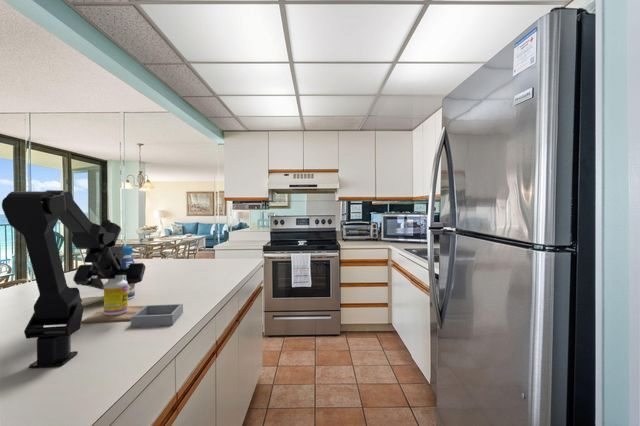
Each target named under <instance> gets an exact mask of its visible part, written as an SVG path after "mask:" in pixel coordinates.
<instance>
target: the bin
mask: <svg viewBox="0 0 640 426" xmlns="http://www.w3.org/2000/svg"><path fill="white" fill-rule="evenodd" d="M143 306H144V307H143V308H142V309H140V310H139V311H138V312H137V313H135V314H134V315H133V316H131V321H130V328H140V327H157V326H159V327H160V326H174V324H175V323H176V321H177V320H178V319H179V318H180V317H181V316H182V315H183V314H184V304H183V303H170V304H148V305H147V304H146V305H143Z"/></svg>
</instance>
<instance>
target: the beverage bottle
mask: <svg viewBox="0 0 640 426" xmlns="http://www.w3.org/2000/svg"><path fill="white" fill-rule="evenodd" d="M121 246H122V247H123V248H124V253H125V256H124V257H123V258H122V262H123V263H122V266H120V268H124V267H129V266H130V264H131V263H136V262H135V260H134V258H133V257H132V255H133V246H132V245H131V246H130V245H129V246H128V245H121ZM124 280H125V281H127V280H126V275H124ZM127 283H128V282H127ZM135 291H136V290H135V287H134V288H131V287H130V286H129V285H128V300H131V299H133V298H134V297H135V296H136V292H135Z"/></svg>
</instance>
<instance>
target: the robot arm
mask: <svg viewBox="0 0 640 426" xmlns="http://www.w3.org/2000/svg"><path fill="white" fill-rule="evenodd" d="M1 210H2V211H3V213H4V215H5V218H6V221H7V222H8V225H10V227H12V228H13V229H15V231H17V232H18V233H19V234H21V235H22V236H23V239H24V243H25V247H26V250H27V252H28V257H29V261H30V264H31V267H32V271H33V275H34V280H35V283H36V286H37V288H38V292H39V293H38V294H39V295H38V297H37V299H36V301H35V303H34V304H33V314H32V315H31V317H30V319H29V321H28V323H27V324H26V327H25V328H24V331H23V332H24V335H25V339H26V340H27V339H35V338H36V360H35V361H33V362H32V363H30V364H29V365H28V368H30V369H33V368H45V367H46V368H49V367H61V366H63V365H64V364H66V363H68V362H69V360H71V359H72V358H74V357H75V356H77V355H78V353H79V351H71V350H72V347H71V346H72V345H71V339H72V338H71V336H72V335H73V334H75V333H77V332H78V331H79V330H81V325H82V323H81V321H83V320H82V319H83V315H84V306H83V303H82V302H83V300H82V298H81V293H80V289H79V288H78V287H69V286H68V284H67V279H66V276H65V272H64V271H65V270H64V267H63V264H62V259H61V254H60V251H59V247H58V243H57V239H56V235H55V230H54V229H55V227H56V225H57V223H58V221H60V222H61V223H62V224H63V225H64V227H66V229H67V230H68V231H69V232H70V233H71V237H70V241H71V243H72V244H73V246H74V247H75V248H76V249H77V250H85V257H84V260H83V263H85V264H81V265H78V267H77V269H76V271H75V273H74V275H73V278H72V279H73V280H72V281H73V282H74V284H75V285H77V286H79V285H80V286H86V287H90V288H94V289H99V290H103V291H104V284H105V283H104V282H103V280H108V279H115V278H116V276H117V275H126V280H127V282H128V285H129V286H130V287H131V288H134V289H135V286H136V284H138V283H141V282H142V281H143V279H144V278H143V277H144V276H145V273H146V268H147V267H146V265H145V263H144V262H135V263H131V264H130V266H129V267H124V268H120V266H122V263H123V262H122V258H123V257H124V256H125V253H124V248H123V247H122V246H123V245H121V246H120V245H119V246H118V245H117V246H116V243H117V241H118V238H119V236H120V234H121V231H122V228H121V226H120V225H118V224H117V223H114V222H112V221H111V220H110V219H102V221H101V223H100V224H98V223H94V222H92V221H91V220H90V219H89V217H88V216H87V215H86V214H85V213H84V212H83V210H82V208H81V207H80V206H79V205H78V204H77V202H76V201H75V200H74V196H73V194H72V192H71V191H67V190H62V189H61V190H58V189H57V190H56V189H55V190H53V189H52V190H51V189H47V190H45V191H44V190H43V191H36V190H35V191H34V190H33V191H31V190H30V191H28V190H27V191H26V190H25V191H23V190H21V191H20V190H19V191H17V190H16V191H10V192H9V193H8V194H7V195H6V196H5V197H3V199H2V202H1ZM87 263H88V264H87ZM90 263H91V264H90ZM61 325H62V326H61ZM45 326H46V327H45Z"/></svg>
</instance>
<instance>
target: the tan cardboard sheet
mask: <svg viewBox="0 0 640 426" xmlns="http://www.w3.org/2000/svg"><path fill="white" fill-rule="evenodd" d="M144 306H145V305H134V306H133V305H132V306H131V305H130V306H129V305H128V310H127V312H125V313H123V314H120V315H113V316H108V315H105V314H104V307H103V308H101V309H99V310H98V311H96V312H95V313H93V314H91V315H90V316H89V315H88V316H87V317H86V318H85V319H83V320H82V321H81V324H89V323H90V324H93V323H114V322H131V316H133V315H134V314H135V313H137V312H138V311H139V310H140V309H142V308H143V307H144Z"/></svg>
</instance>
